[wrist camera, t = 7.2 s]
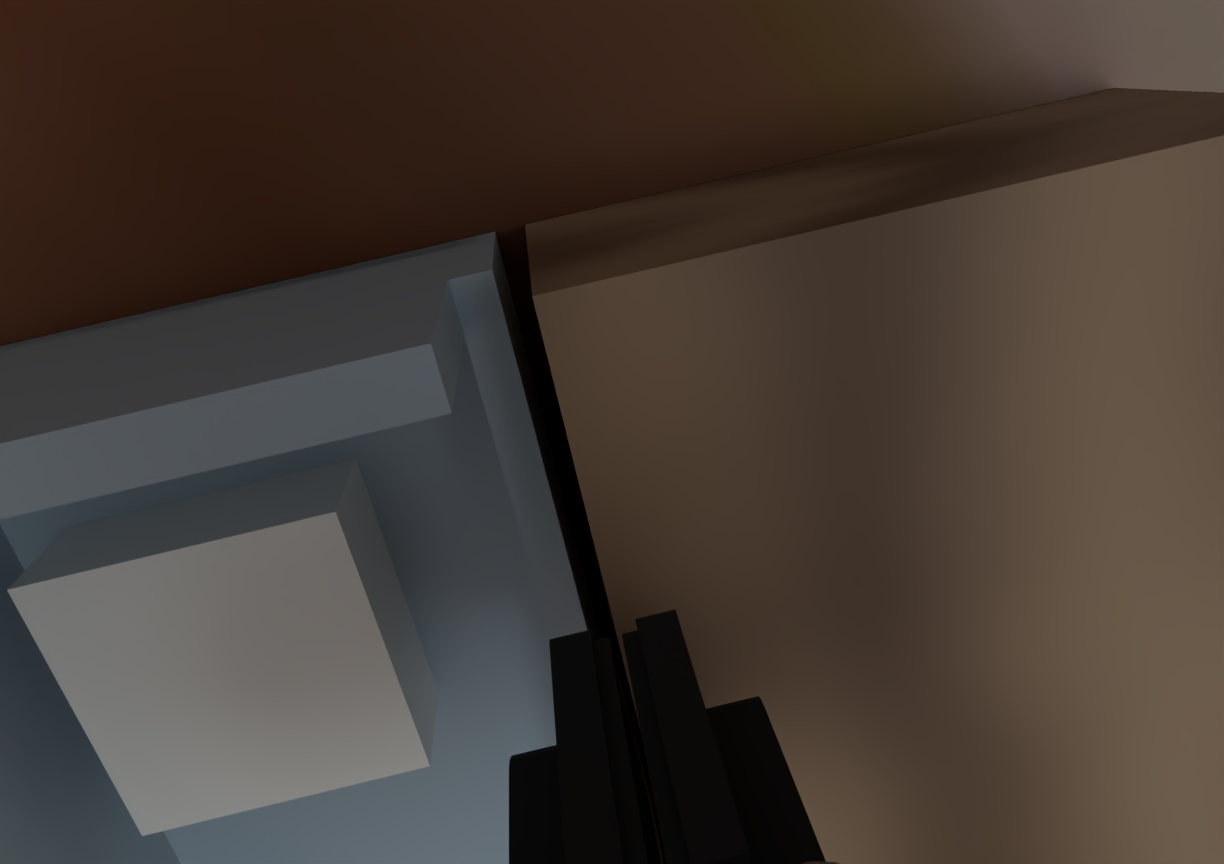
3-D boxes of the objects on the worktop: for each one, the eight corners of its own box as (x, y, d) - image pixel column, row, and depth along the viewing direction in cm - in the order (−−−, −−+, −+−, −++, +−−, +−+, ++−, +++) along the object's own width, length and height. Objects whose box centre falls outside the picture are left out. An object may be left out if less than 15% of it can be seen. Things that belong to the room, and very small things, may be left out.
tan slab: (1114, 88, 15) (1376, 100, 11) (1112, 928, 23) (1264, 1147, 18) (525, 224, 15) (531, 296, 10) (721, 1025, 23) (775, 1269, 18)
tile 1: (6, 589, 14) (66, 527, 16) (142, 835, 16) (180, 754, 18) (335, 512, 14) (355, 458, 16) (430, 766, 16) (438, 692, 18)
